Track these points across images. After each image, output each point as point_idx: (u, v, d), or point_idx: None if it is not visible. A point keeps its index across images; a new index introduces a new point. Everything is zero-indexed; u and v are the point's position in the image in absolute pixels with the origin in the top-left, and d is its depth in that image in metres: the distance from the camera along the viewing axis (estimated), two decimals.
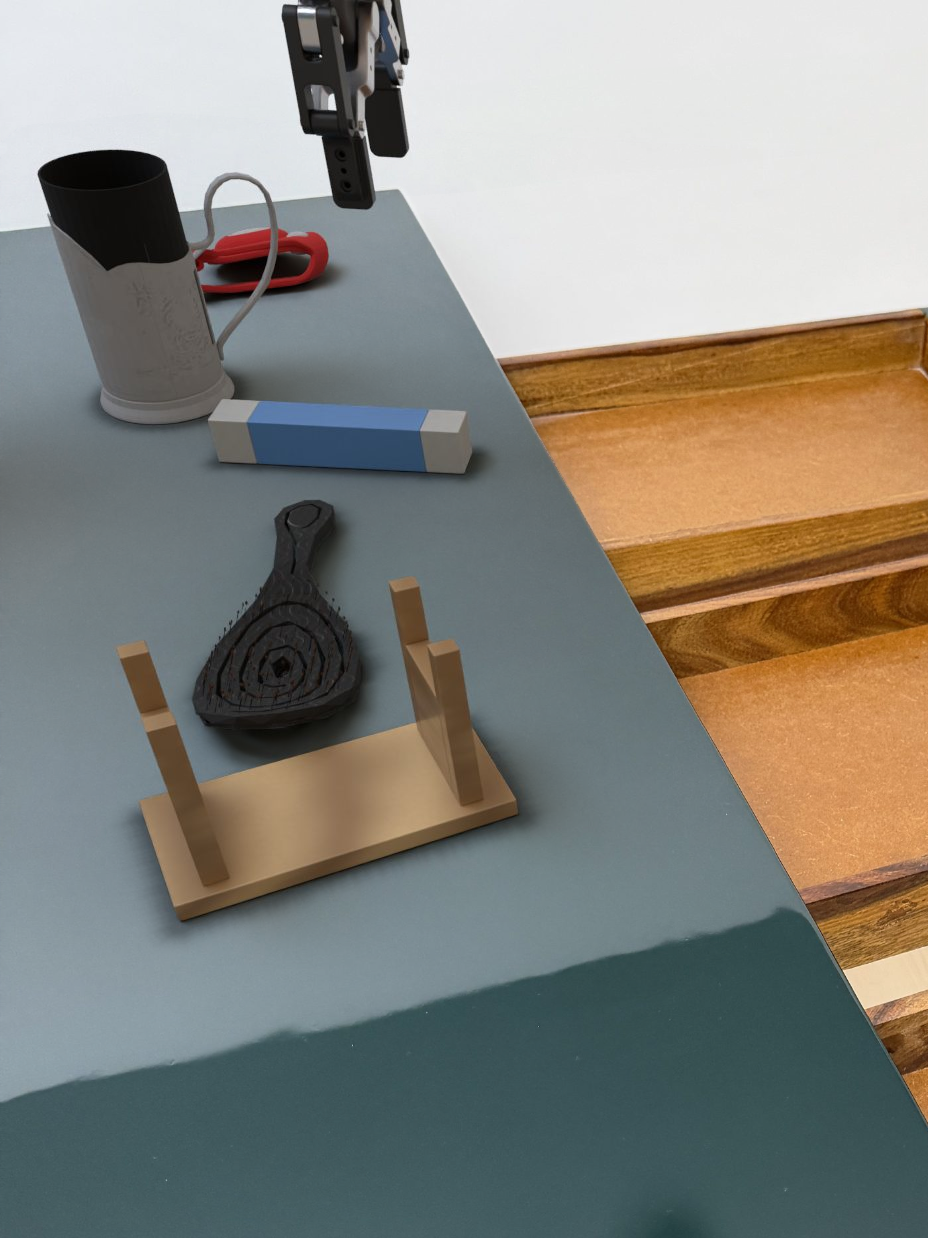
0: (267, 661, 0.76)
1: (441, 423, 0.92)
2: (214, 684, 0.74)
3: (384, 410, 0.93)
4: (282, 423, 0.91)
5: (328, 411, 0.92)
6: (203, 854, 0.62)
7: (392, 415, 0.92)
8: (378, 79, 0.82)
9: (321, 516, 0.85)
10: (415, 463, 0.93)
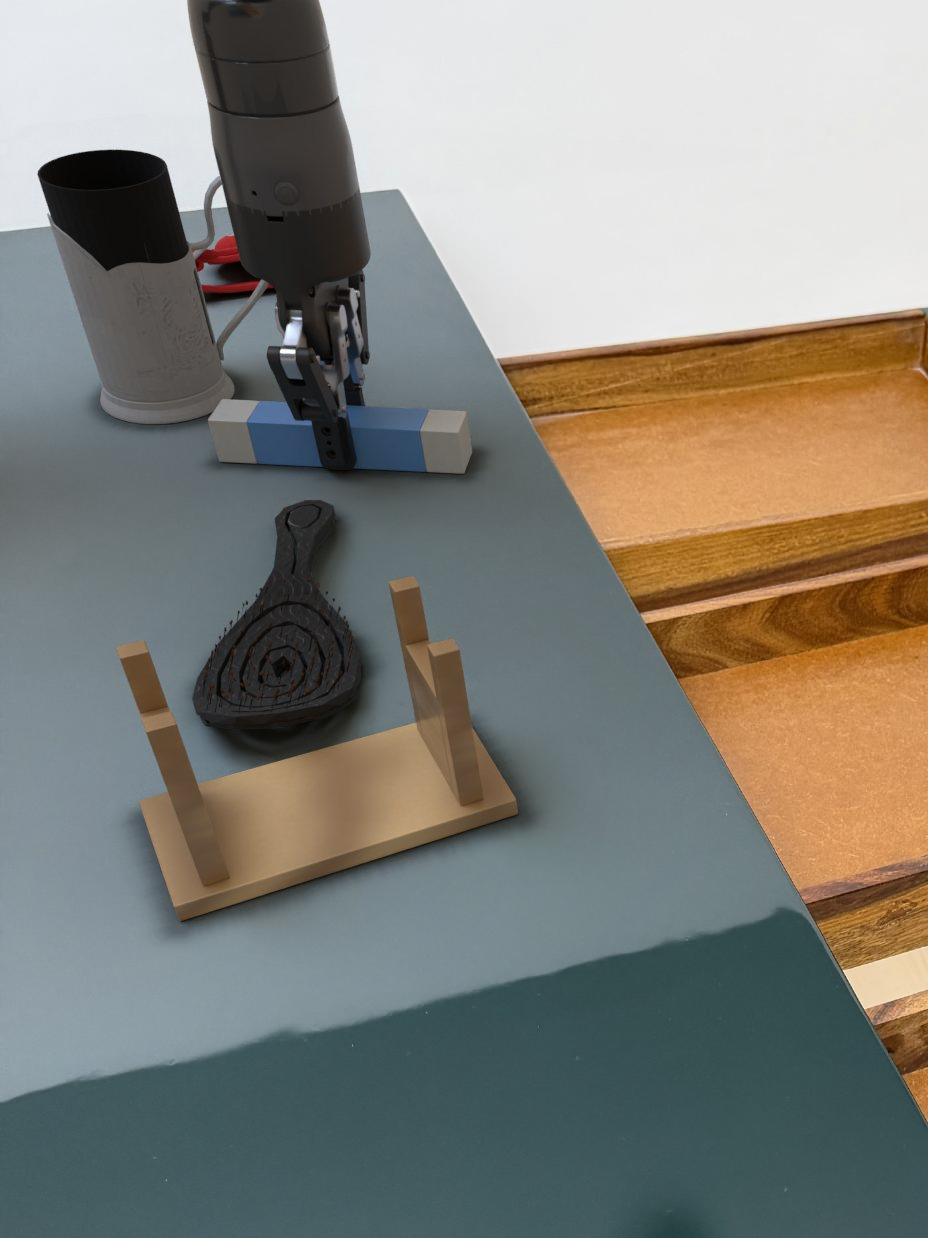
0: (267, 661, 0.76)
1: (441, 423, 0.92)
2: (214, 684, 0.74)
3: (384, 410, 0.93)
4: (282, 423, 0.91)
5: None
6: (203, 854, 0.62)
7: (392, 415, 0.92)
8: None
9: (321, 516, 0.85)
10: (415, 463, 0.93)
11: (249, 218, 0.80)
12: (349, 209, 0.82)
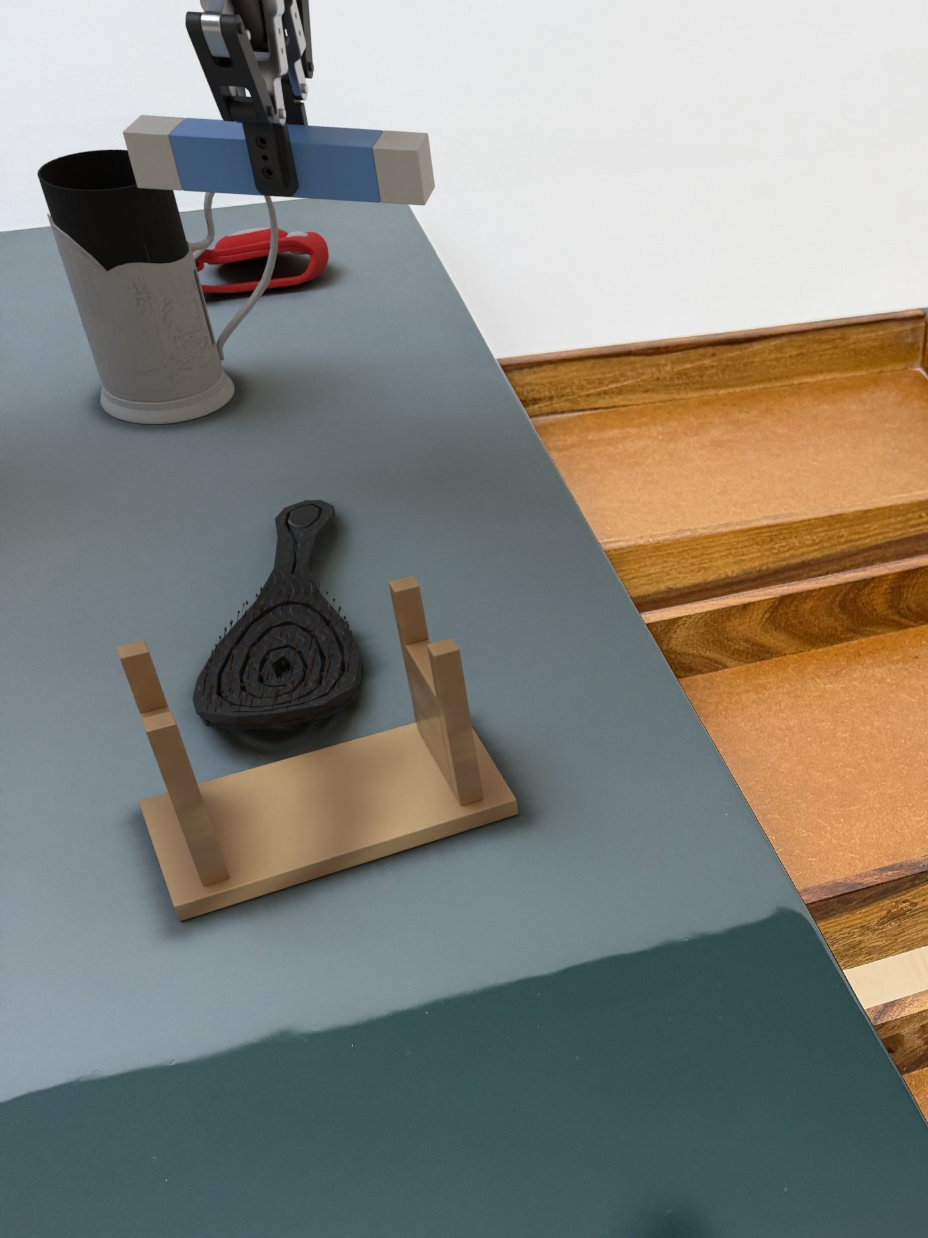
0: (268, 661, 0.76)
1: (397, 142, 0.79)
2: (215, 684, 0.74)
3: (331, 129, 0.79)
4: (210, 136, 0.77)
5: None
6: (203, 854, 0.62)
7: (340, 134, 0.79)
8: None
9: (322, 516, 0.85)
10: (368, 191, 0.79)
11: None
12: None
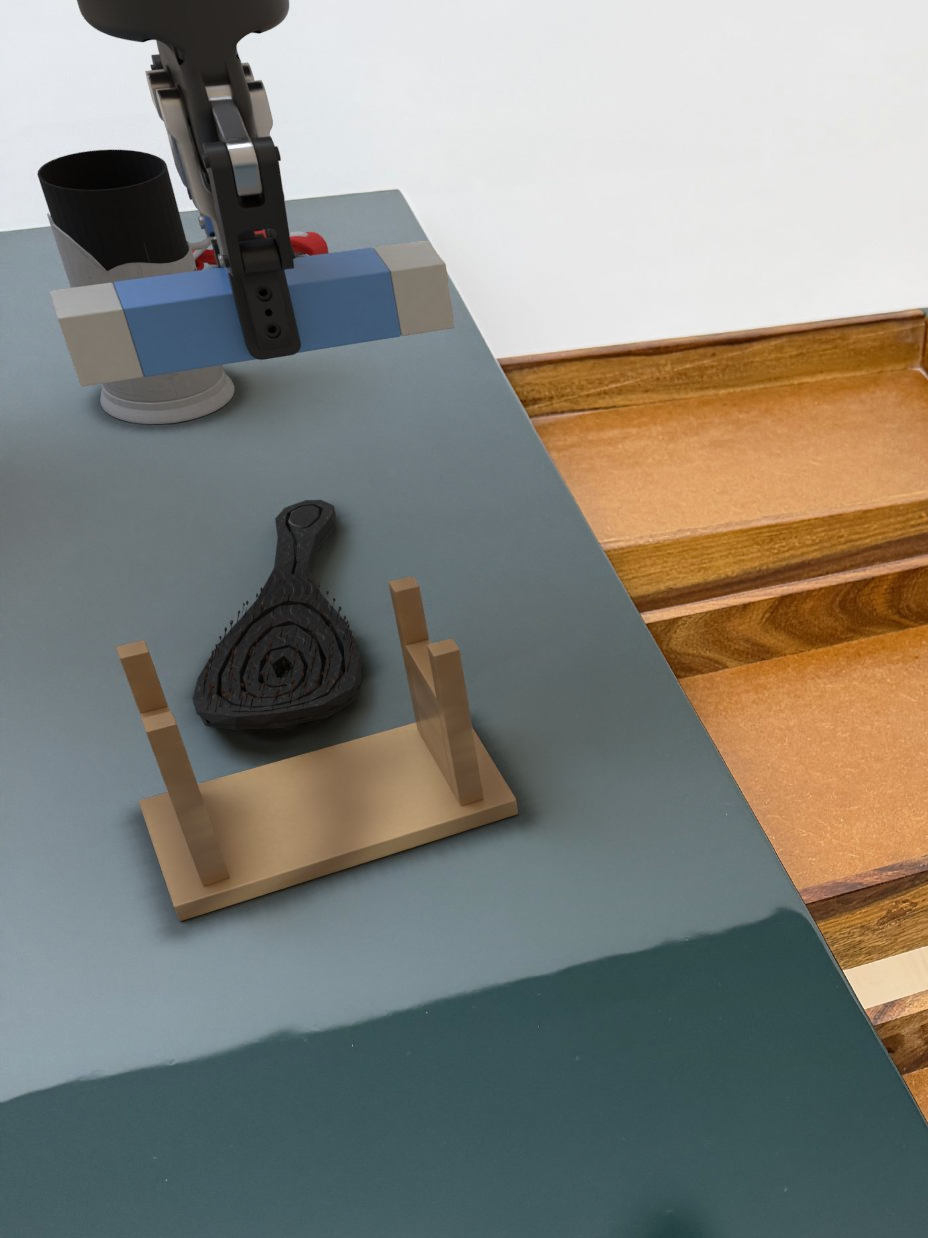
0: (268, 661, 0.76)
1: (410, 258, 0.63)
2: (215, 684, 0.74)
3: (312, 259, 0.63)
4: (179, 299, 0.59)
5: None
6: (203, 854, 0.62)
7: (331, 262, 0.62)
8: None
9: (322, 516, 0.85)
10: (386, 326, 0.63)
11: None
12: None
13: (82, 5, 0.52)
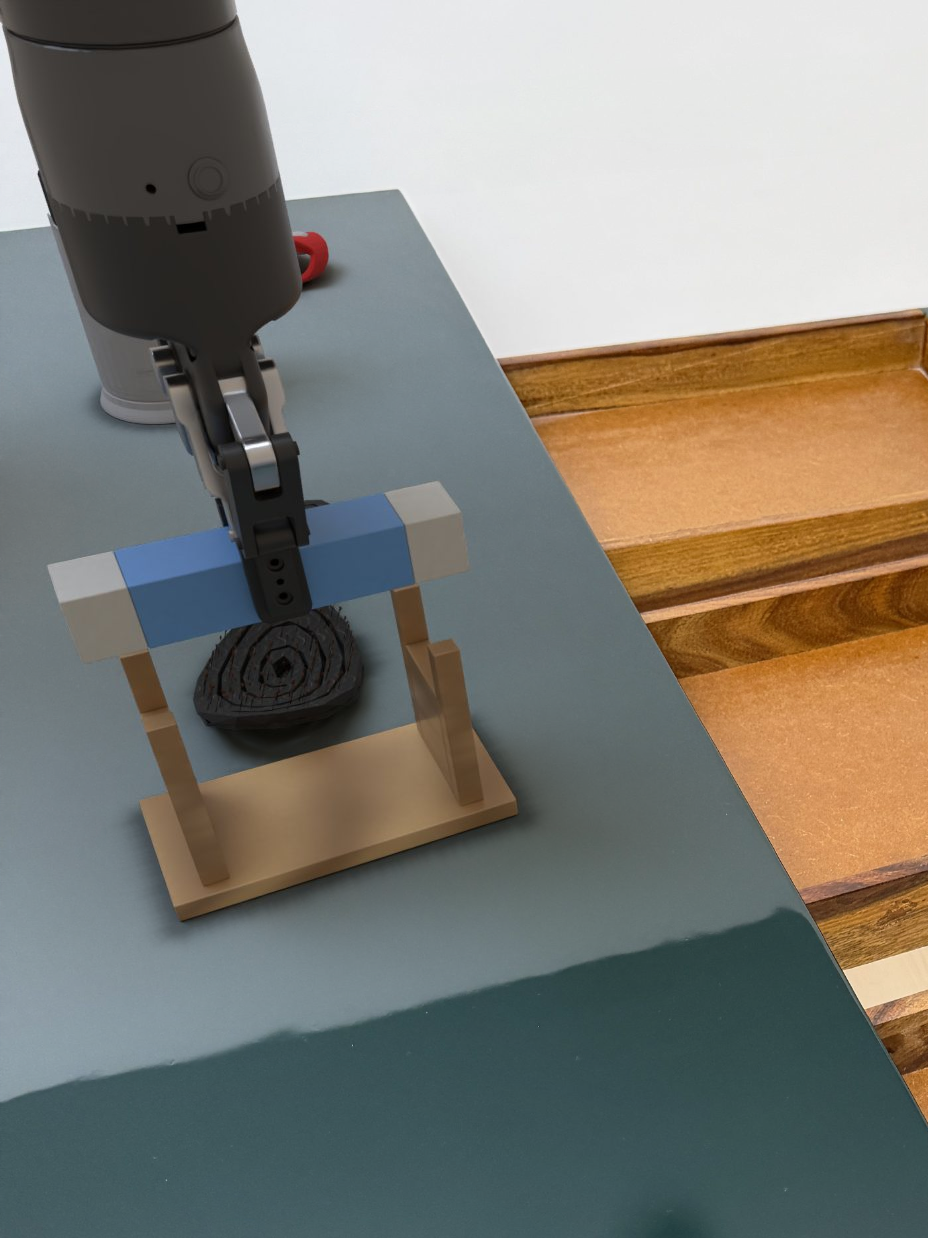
0: (268, 661, 0.76)
1: (424, 506, 0.61)
2: (215, 684, 0.74)
3: (321, 511, 0.60)
4: (186, 572, 0.56)
5: None
6: (203, 854, 0.62)
7: (341, 516, 0.60)
8: None
9: None
10: (399, 576, 0.61)
11: (140, 236, 0.46)
12: (281, 193, 0.49)
13: (86, 302, 0.49)
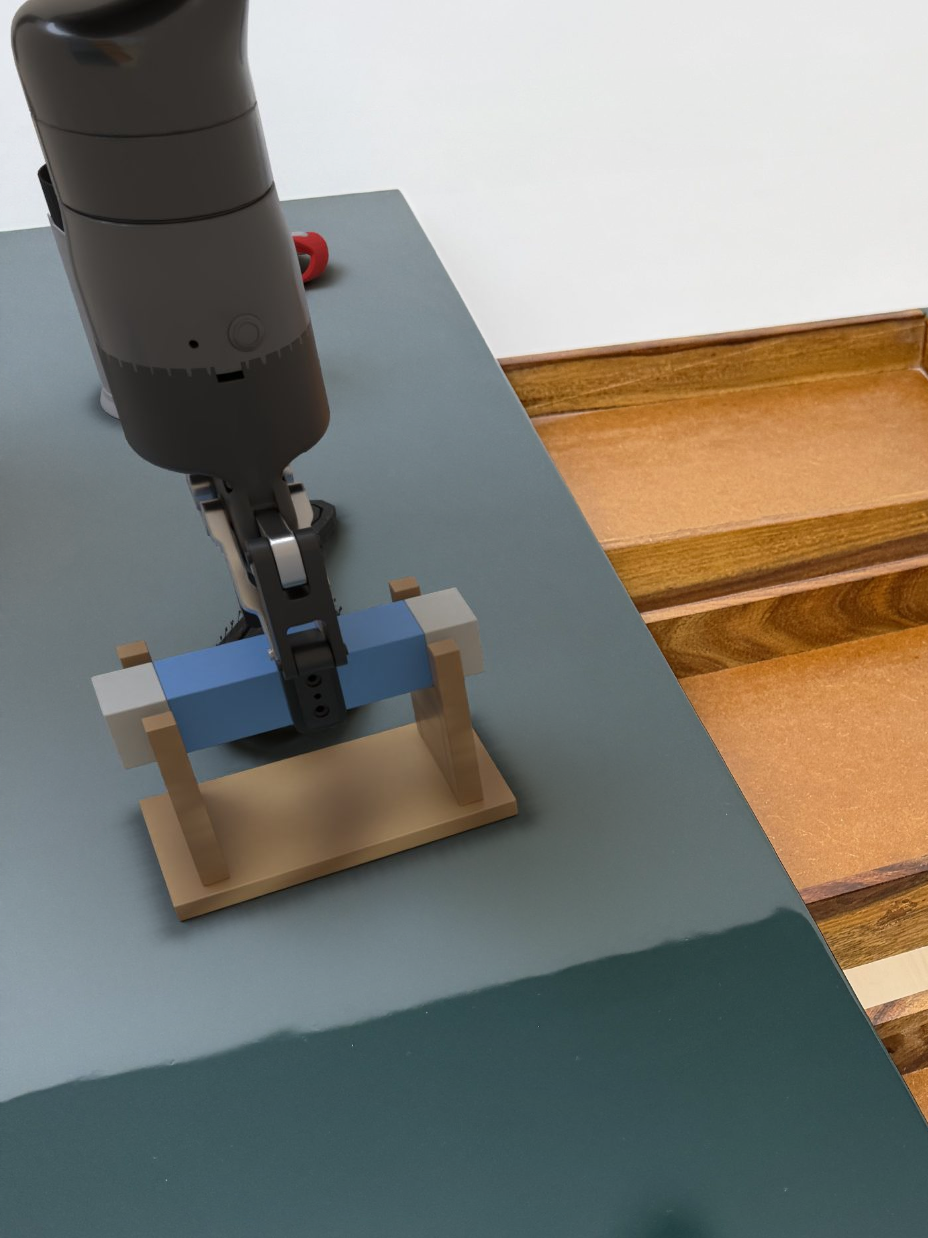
0: None
1: (442, 614, 0.64)
2: None
3: (346, 620, 0.64)
4: (221, 684, 0.60)
5: None
6: (203, 854, 0.62)
7: (365, 624, 0.64)
8: None
9: (323, 516, 0.85)
10: (419, 679, 0.65)
11: (182, 385, 0.50)
12: (312, 336, 0.53)
13: (130, 439, 0.52)
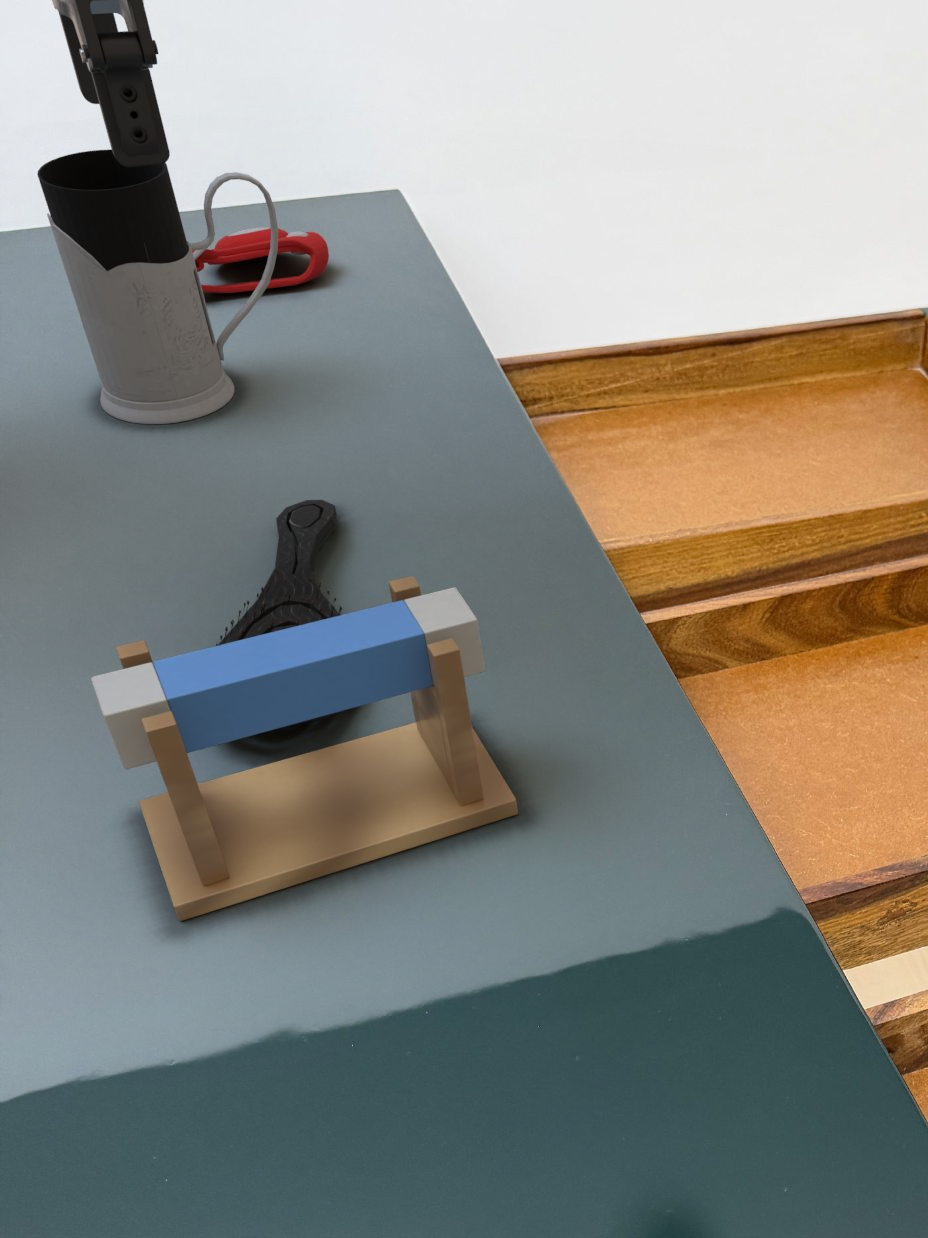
0: None
1: (442, 614, 0.64)
2: None
3: (346, 620, 0.64)
4: (221, 684, 0.60)
5: (269, 645, 0.62)
6: (203, 854, 0.62)
7: (365, 624, 0.64)
8: None
9: (323, 516, 0.85)
10: (419, 679, 0.65)
11: None
12: None
13: None
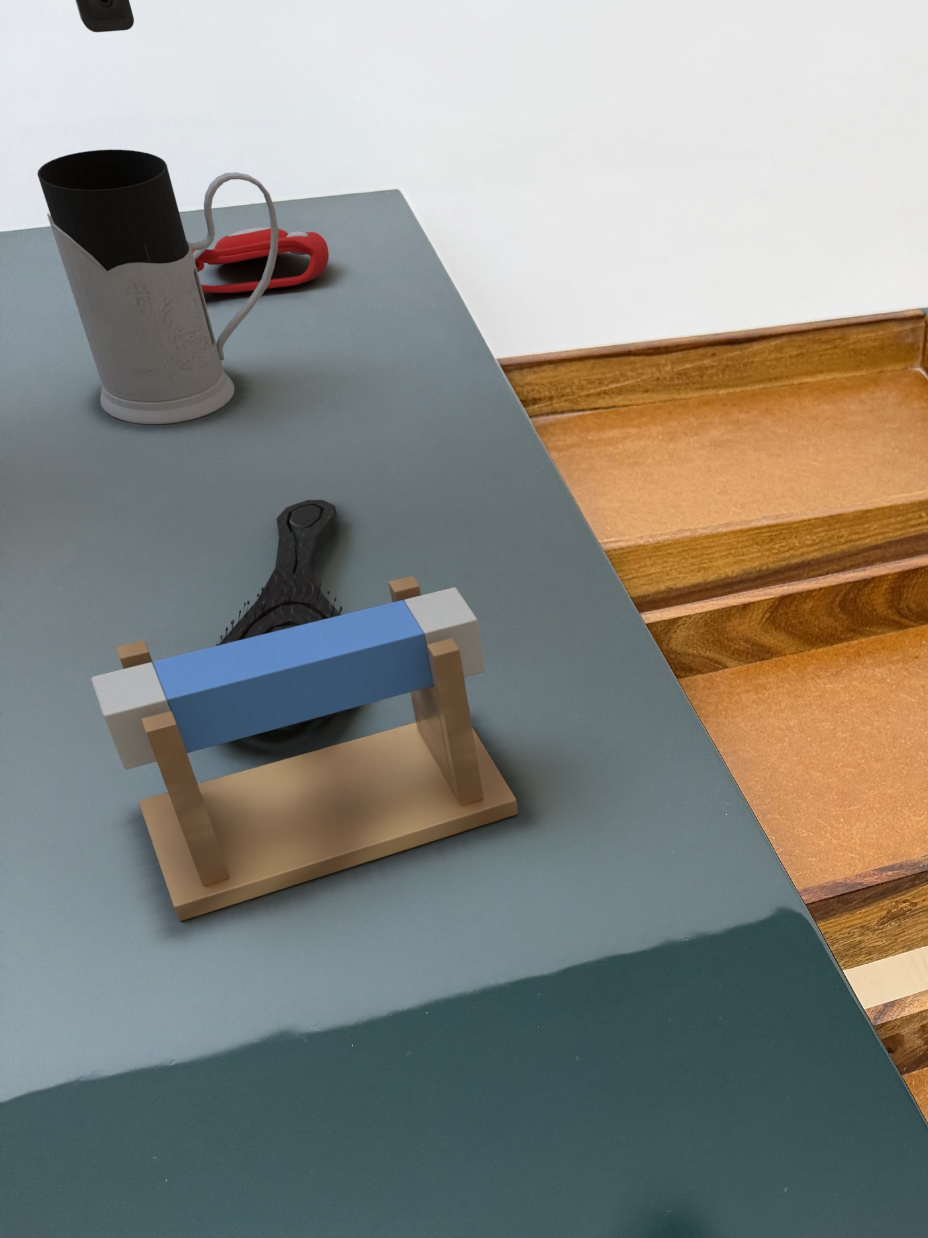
0: None
1: (442, 614, 0.64)
2: None
3: (346, 620, 0.64)
4: (221, 684, 0.60)
5: (269, 645, 0.62)
6: (203, 854, 0.62)
7: (365, 624, 0.64)
8: None
9: (323, 516, 0.85)
10: (419, 679, 0.65)
11: None
12: None
13: None
